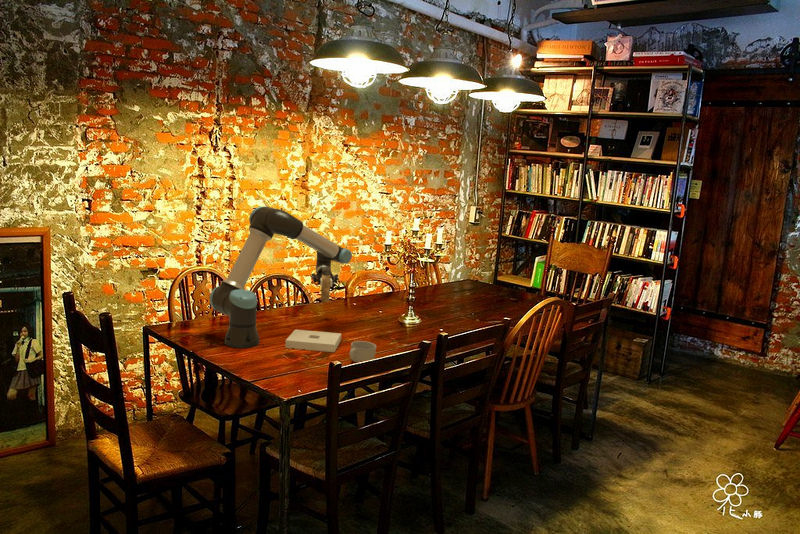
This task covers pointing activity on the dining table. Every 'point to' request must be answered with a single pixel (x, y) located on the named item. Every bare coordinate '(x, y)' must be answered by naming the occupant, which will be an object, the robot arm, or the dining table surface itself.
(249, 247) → the robot arm
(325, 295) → the plug
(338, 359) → the dining table surface
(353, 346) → the teacup
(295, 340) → the beige socket block
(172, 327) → the dining table surface
